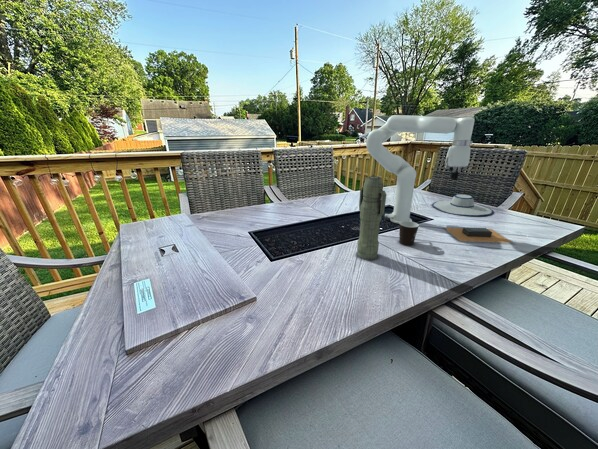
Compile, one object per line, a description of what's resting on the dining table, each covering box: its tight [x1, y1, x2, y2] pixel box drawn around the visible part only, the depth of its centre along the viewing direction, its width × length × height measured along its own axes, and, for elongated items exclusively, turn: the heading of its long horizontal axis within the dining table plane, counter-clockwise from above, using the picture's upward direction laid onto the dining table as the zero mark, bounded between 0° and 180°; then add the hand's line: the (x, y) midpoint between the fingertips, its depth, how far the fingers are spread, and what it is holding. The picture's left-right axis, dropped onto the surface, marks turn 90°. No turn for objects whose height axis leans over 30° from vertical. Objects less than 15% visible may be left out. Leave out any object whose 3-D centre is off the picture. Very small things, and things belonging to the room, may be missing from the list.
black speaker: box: [462, 226, 492, 237], centre depth 128 cm, size 3×6×11 cm
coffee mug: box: [398, 221, 420, 247], centre depth 121 cm, size 12×9×10 cm
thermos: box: [356, 175, 387, 261], centre depth 105 cm, size 9×12×35 cm
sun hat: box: [431, 193, 494, 217], centre depth 172 cm, size 36×36×9 cm
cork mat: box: [444, 227, 513, 244], centre depth 129 cm, size 24×18×1 cm
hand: (453, 179), depth 132 cm, fingers closed
